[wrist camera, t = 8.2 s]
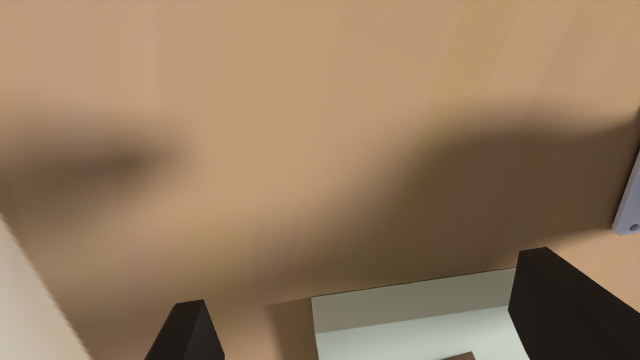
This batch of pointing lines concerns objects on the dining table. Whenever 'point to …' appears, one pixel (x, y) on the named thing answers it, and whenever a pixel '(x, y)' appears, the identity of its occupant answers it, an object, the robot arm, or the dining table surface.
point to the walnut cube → (462, 357)
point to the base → (420, 320)
